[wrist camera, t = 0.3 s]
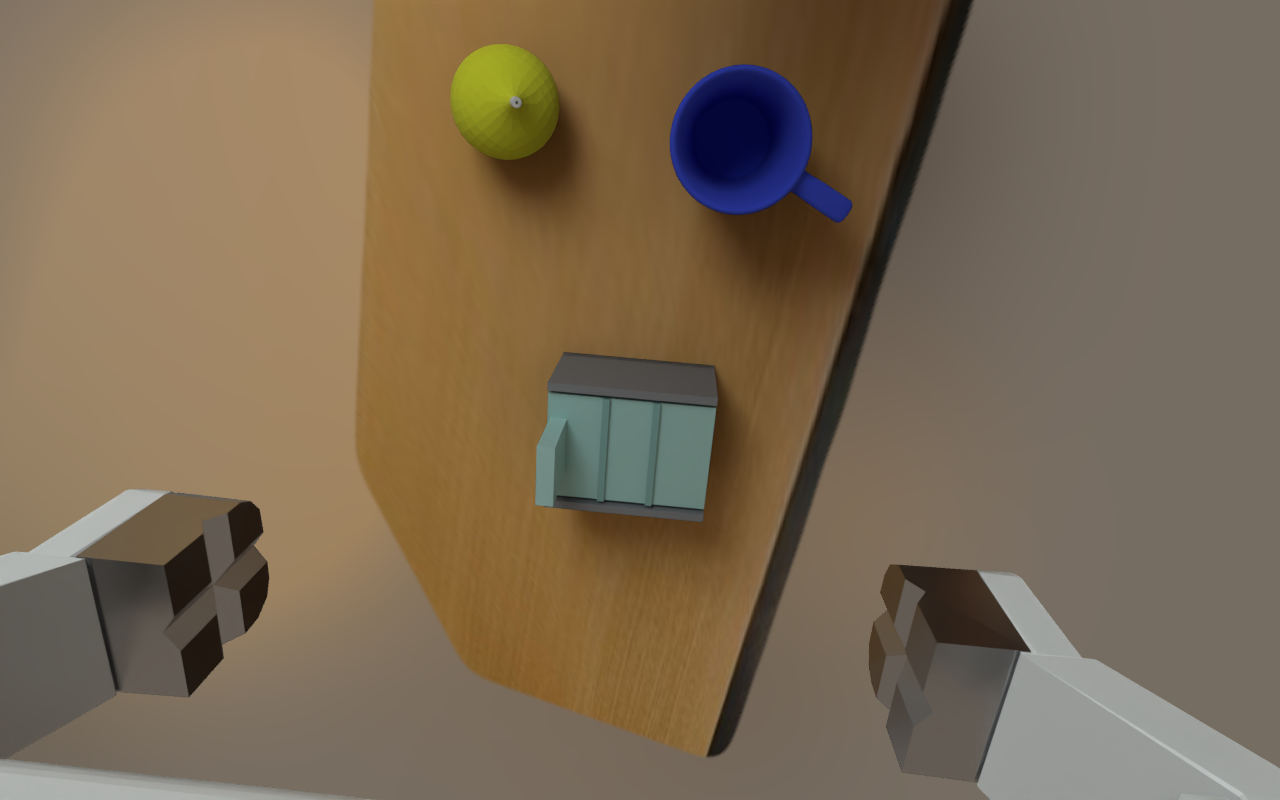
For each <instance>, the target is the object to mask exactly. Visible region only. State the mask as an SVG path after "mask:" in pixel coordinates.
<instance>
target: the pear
mask: <svg viewBox="0 0 1280 800" xmlns="http://www.w3.org/2000/svg"><path fill="white" fill-rule="evenodd" d="M450 102H451V110H452V114H453V117H454V120H455V123H456V125H457V127H458V129H459V131H460V133H461V134H462V135H463V137H464V138H465V139H466V140H467V142H468V143H469V144H471V145H472V146H473V147H474V148H475V149H477V150H478V151H480V152H482V153H483V154H485V155H488V156H490V157H493V158H497V159H503V160H513V159H520V158H523V157H527V156H529V155H531V154H533V153H535V152H537V151H538V150H539V149H540V148H541V147H543V146H544V145H545V144H546V142H547V141H548V140H549V139H550V137H551V135H552V134H553V132H554V130H555V127H556V124H557V121H558V116H559V108H560V106H559V95H558V91H557V87H556V84H555V81H554V79H553V77H552V75H551V73H550V72H549V70H548V69H547V67H546V66H545V65H544V64H543V63H542V62H541V61H540V60H539V59H538V58H537V57H536V56H535V55H533V54H532V53H530V52H529V51H527V50H525V49H522V48H520V47H518V46H513V45H509V44H493V45H489V46H485V47H482V48H480V49H478V50H476V51H474V52H472V53H471V54H470V55H469V56H468V57H466V58H465V59H464V61H463V62H462V63H461V64H460V66H459V67H458V69H457V71H456V73H455V75H454V78H453V82H452V86H451V95H450Z"/></svg>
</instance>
